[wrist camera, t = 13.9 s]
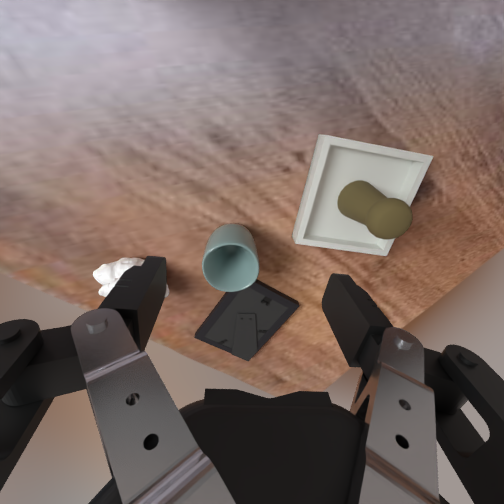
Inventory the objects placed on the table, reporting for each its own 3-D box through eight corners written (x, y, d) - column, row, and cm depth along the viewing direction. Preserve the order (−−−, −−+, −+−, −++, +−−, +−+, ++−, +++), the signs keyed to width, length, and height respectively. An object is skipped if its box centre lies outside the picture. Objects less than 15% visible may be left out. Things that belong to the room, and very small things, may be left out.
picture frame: (248, 353, 55) (297, 299, 49) (248, 362, 53) (300, 307, 47) (195, 330, 51) (241, 269, 45) (193, 339, 49) (241, 275, 43)
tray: (318, 134, 35) (325, 134, 32) (419, 154, 37) (433, 156, 34) (291, 236, 42) (295, 243, 39) (377, 248, 44) (386, 256, 41)
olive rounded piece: (343, 224, 41) (377, 254, 31) (332, 191, 38) (365, 214, 28) (379, 207, 40) (426, 233, 30) (369, 172, 37) (417, 189, 27)
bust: (178, 271, 47) (177, 266, 36) (163, 311, 45) (159, 317, 34) (112, 251, 44) (90, 238, 33) (94, 292, 42) (65, 293, 31)
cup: (249, 212, 40) (253, 236, 31) (259, 253, 43) (264, 286, 34) (203, 222, 40) (193, 249, 31) (216, 262, 44) (211, 297, 35)
